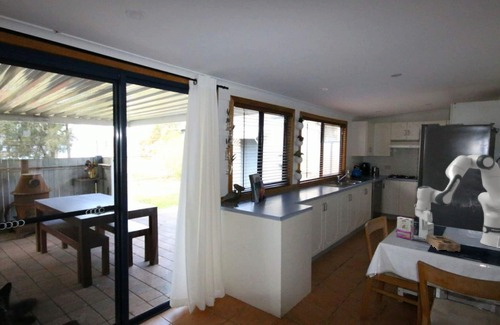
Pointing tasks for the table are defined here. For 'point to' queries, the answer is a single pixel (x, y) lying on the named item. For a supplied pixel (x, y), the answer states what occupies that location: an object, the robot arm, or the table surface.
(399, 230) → the candy bar box
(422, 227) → the plug
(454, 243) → the socket block
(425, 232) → the supplement box
